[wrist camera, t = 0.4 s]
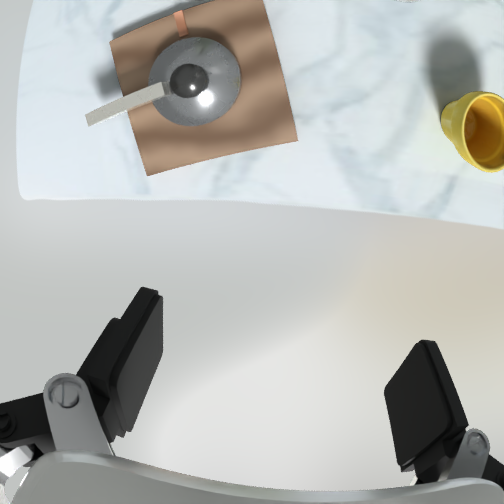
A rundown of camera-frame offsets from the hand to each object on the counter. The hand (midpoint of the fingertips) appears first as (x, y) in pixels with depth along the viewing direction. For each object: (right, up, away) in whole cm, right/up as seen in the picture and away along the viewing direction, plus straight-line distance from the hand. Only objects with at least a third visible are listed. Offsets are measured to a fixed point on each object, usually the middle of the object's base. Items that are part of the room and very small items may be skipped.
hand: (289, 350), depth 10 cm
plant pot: (+29, +23, +25) cm, 45 cm away
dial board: (-8, +27, +27) cm, 39 cm away
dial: (-13, +25, +26) cm, 38 cm away
